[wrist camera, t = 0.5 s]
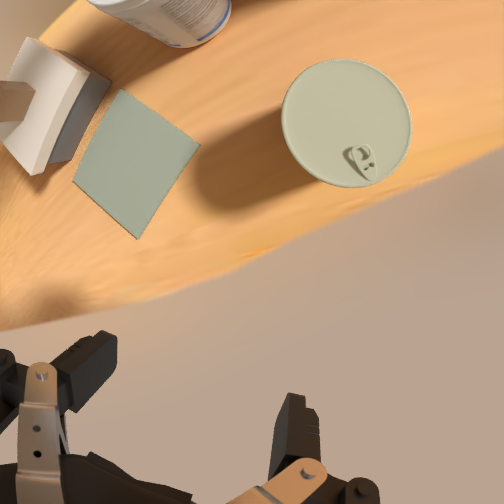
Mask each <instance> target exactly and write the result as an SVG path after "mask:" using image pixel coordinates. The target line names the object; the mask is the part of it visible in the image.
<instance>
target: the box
mask: <svg viewBox="0 0 504 504" xmlns="http://www.w3.org/2000/svg"><path fill="white" fill-rule="evenodd" d="M54 50H56V51H57V52H59V53H61V54H62V55H64V56H65V57H67V58H68V59H70V60H72V61H73V62H75V63H76V64H78V65H79V66H81V67H82V68H84V69H85V70H87V71H88V72H90V74H89V76H88V78H87V79H86V81H85V83H84V85H83V87H82V88H81V90H80V92H79V94H78V96H77V98H76V100H75V101H74V103H73V105H72V107H71V109H70V111H69V113H68V115H67V118H66V120H65V122H64V124H63V126H62V128H61V130H60V133H59V135H58V137H57V139H56V142H55V144H54V147H53V149H52V151H51V154H50V156H49V159H48V161H47V164H51V163H57V162H63V161H69V160H72V158H73V155H74V153H75V151H76V149H77V147H78V145H79V143H80V140H81V138H82V136H83V134H84V132H85V130H86V128H87V126H88V124H89V123H90V121H91V119H92V117H93V115H94V113H95V111H96V109H97V108H98V106H99V104H100V102H101V101H102V99H103V97H104V95H105V94H106V92H107V90H108V89H109V87H110V85H111V84H112V82H111V81H110V80H108V79H107V78H105V77H104V76H102V75H101V74H99V73H98V72H96V71H95V70H93V69H92V68H90V67H89V66H87V65H86V64H84V63H82V62H81V61H79V60H78V59H76V58H75V57H73V56H71V55H70V54H68V53H67V52H65V51H61V50H57V49H54Z"/></svg>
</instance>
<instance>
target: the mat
mask: <svg viewBox="0 0 504 504" xmlns="http://www.w3.org/2000/svg"><path fill="white" fill-rule="evenodd" d="M199 147H200V144H198V143H197V142H196V141H194V140H193V139H192V138H190V137H189V136H188V135H186V134H185V133H184V132H182V131H181V130H180V129H178V128H177V127H175V126H174V125H173V124H171V123H170V122H169V121H167V120H166V119H164V118H163V117H162V116H160V115H159V114H157V113H156V112H155V111H153V110H152V109H150V108H149V107H148V106H146V105H145V104H143V103H142V102H141V101H139V100H138V99H136V98H135V97H133V96H132V95H130V94H129V93H128V92H126V91H125V90H123V89H121V88H120V90H119V92H118V93H117V95H116V97H115V98H114V100H113V102H112V103H111V105H110V107H109V108H108V110H107V112H106V114H105V116H104V117H103V119H102V121H101V123H100V125H99V126H98V128H97V130H96V132H95V134H94V136H93V138H92V140H91V142H90V144H89V146H88V148H87V150H86V152H85V154H84V156H83V158H82V160H81V163H80V165H79V167H78V169H77V171H76V174H75V176H74V178H73V181H74V182H75V183H76V184H77V185H78V186H79V187H80V188H81V189H82V190H83V191H84V192H86V193H87V194H88V195H89V196H90V197H91V198H92V199H93V200H94V201H95V202H96V203H97V204H99V205H100V206H101V207H102V208H103V209H104V210H105V211H106V212H107V213H109V214H110V215H111V216H112V217H113V218H114V219H115V220H116V221H117V222H119V223H120V224H121V225H122V226H123V227H124V228H125V229H127V230H128V231H129V232H130V233H131V234H132V235H134V236H135V237H136V238H137V239H140V237H141V235H142V234H143V232H144V230H145V229H146V227H147V225H148V224H149V222H150V220H151V219H152V217H153V215H154V214H155V212H156V211H157V209H158V207H159V206H160V204H161V203H162V201H163V200H164V198H165V197H166V195H167V193H168V192H169V190H170V189H171V187H172V186H173V184H174V183H175V181H176V180H177V178H178V177H179V175H180V174H181V172H182V171H183V169H184V168H185V167H186V165H187V164H188V162H189V161H190V159H191V158H192V157H193V155H194V154H195V152H196V151H197V149H198V148H199Z"/></svg>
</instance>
